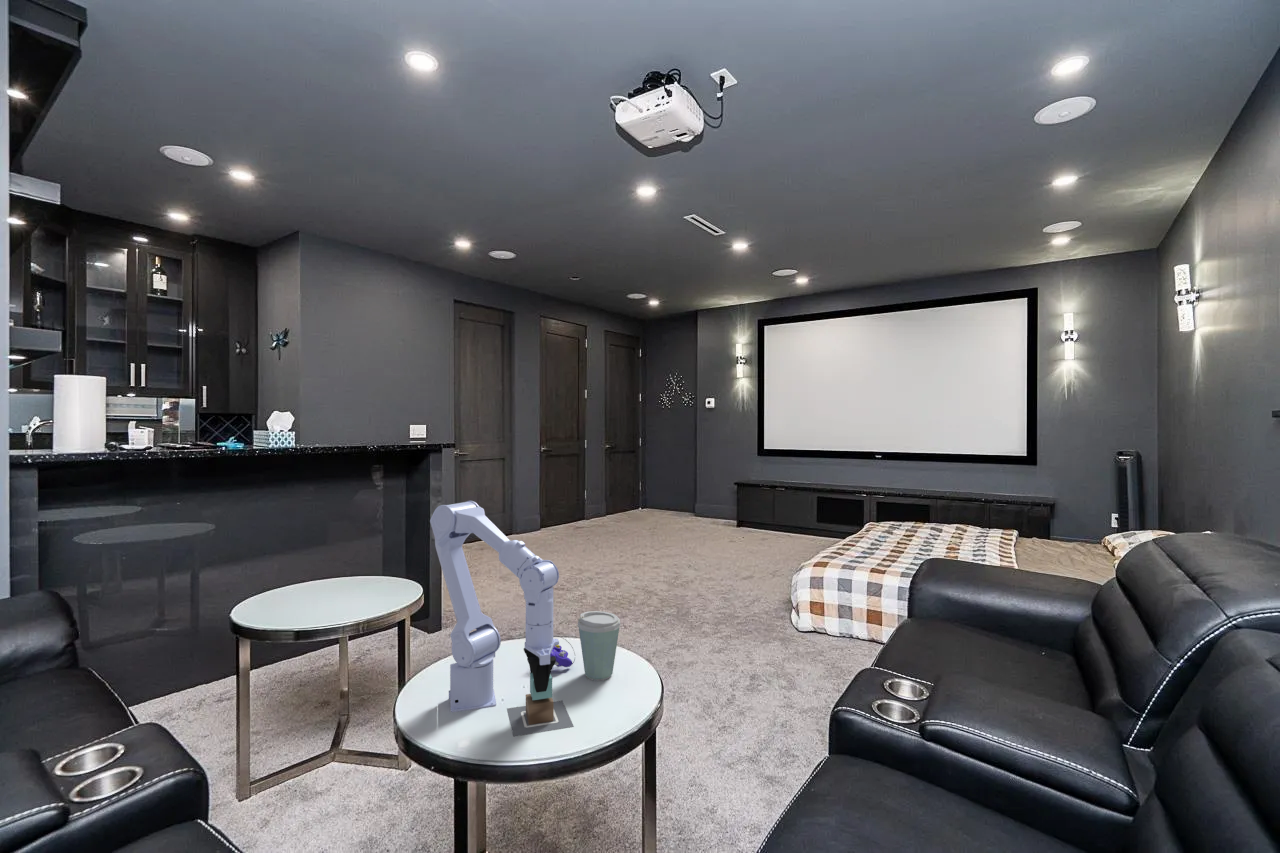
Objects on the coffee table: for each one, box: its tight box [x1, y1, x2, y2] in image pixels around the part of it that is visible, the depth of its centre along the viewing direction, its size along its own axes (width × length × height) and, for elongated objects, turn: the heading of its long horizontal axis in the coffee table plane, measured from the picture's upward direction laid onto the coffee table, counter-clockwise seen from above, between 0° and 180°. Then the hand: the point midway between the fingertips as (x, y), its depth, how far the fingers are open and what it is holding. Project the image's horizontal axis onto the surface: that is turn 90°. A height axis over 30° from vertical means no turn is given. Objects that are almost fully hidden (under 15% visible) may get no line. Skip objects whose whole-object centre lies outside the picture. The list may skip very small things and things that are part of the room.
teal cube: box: [529, 672, 553, 700], centre depth 122 cm, size 4×4×4 cm
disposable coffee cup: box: [577, 610, 621, 681], centre depth 143 cm, size 11×11×15 cm
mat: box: [506, 699, 574, 737], centre depth 122 cm, size 12×12×1 cm
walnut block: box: [525, 693, 555, 725], centre depth 122 cm, size 5×5×4 cm
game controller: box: [550, 635, 576, 668], centre depth 148 cm, size 10×8×10 cm
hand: (539, 686), depth 122 cm, fingers closed on teal cube, 4 cm apart
